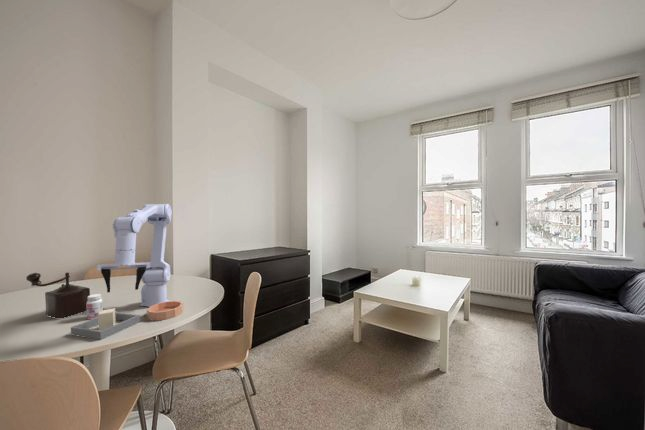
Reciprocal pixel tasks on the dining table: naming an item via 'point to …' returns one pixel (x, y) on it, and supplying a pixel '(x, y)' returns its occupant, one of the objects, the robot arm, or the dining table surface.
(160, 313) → the bowl
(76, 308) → the manual coffee grinder
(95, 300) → the pill bottle
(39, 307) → the dining table surface
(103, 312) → the sandstone block
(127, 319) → the tray
